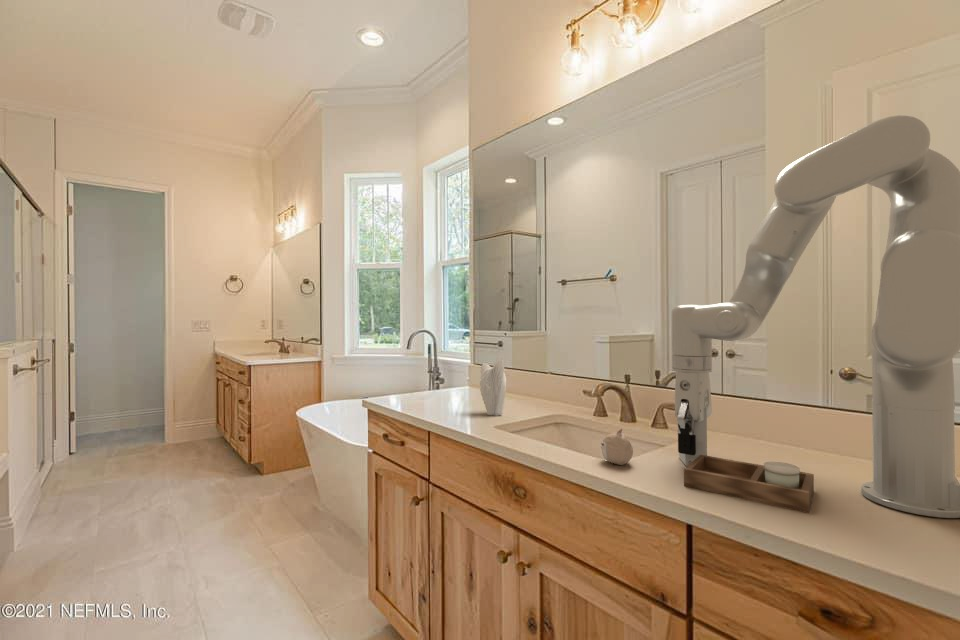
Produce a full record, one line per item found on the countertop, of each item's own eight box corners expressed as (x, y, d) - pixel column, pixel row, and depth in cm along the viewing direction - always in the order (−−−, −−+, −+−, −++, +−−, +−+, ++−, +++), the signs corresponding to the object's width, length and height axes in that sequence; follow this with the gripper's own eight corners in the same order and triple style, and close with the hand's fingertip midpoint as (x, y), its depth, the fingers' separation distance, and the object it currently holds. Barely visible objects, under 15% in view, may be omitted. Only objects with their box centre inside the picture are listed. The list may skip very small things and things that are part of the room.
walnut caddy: (813, 491, 77) (813, 474, 77) (808, 512, 69) (808, 493, 69) (700, 469, 89) (700, 454, 89) (684, 485, 80) (683, 469, 80)
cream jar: (801, 491, 76) (801, 465, 76) (798, 500, 72) (798, 473, 72) (766, 484, 79) (766, 459, 79) (762, 492, 75) (761, 467, 75)
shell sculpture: (481, 412, 147) (480, 357, 147) (506, 412, 146) (505, 357, 146) (480, 417, 139) (479, 359, 139) (506, 417, 138) (506, 359, 138)
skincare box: (708, 467, 90) (707, 407, 90) (685, 466, 91) (684, 407, 91) (699, 458, 96) (699, 402, 96) (678, 457, 97) (677, 401, 97)
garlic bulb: (597, 465, 92) (596, 426, 92) (605, 456, 98) (605, 420, 98) (630, 470, 89) (629, 429, 89) (637, 461, 95) (636, 423, 95)
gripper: (699, 368, 84) (700, 463, 84) (721, 361, 98) (722, 443, 98) (659, 366, 89) (659, 456, 89) (684, 360, 103) (685, 438, 103)
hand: (692, 448), depth 94 cm, fingers closed on skincare box, 7 cm apart
